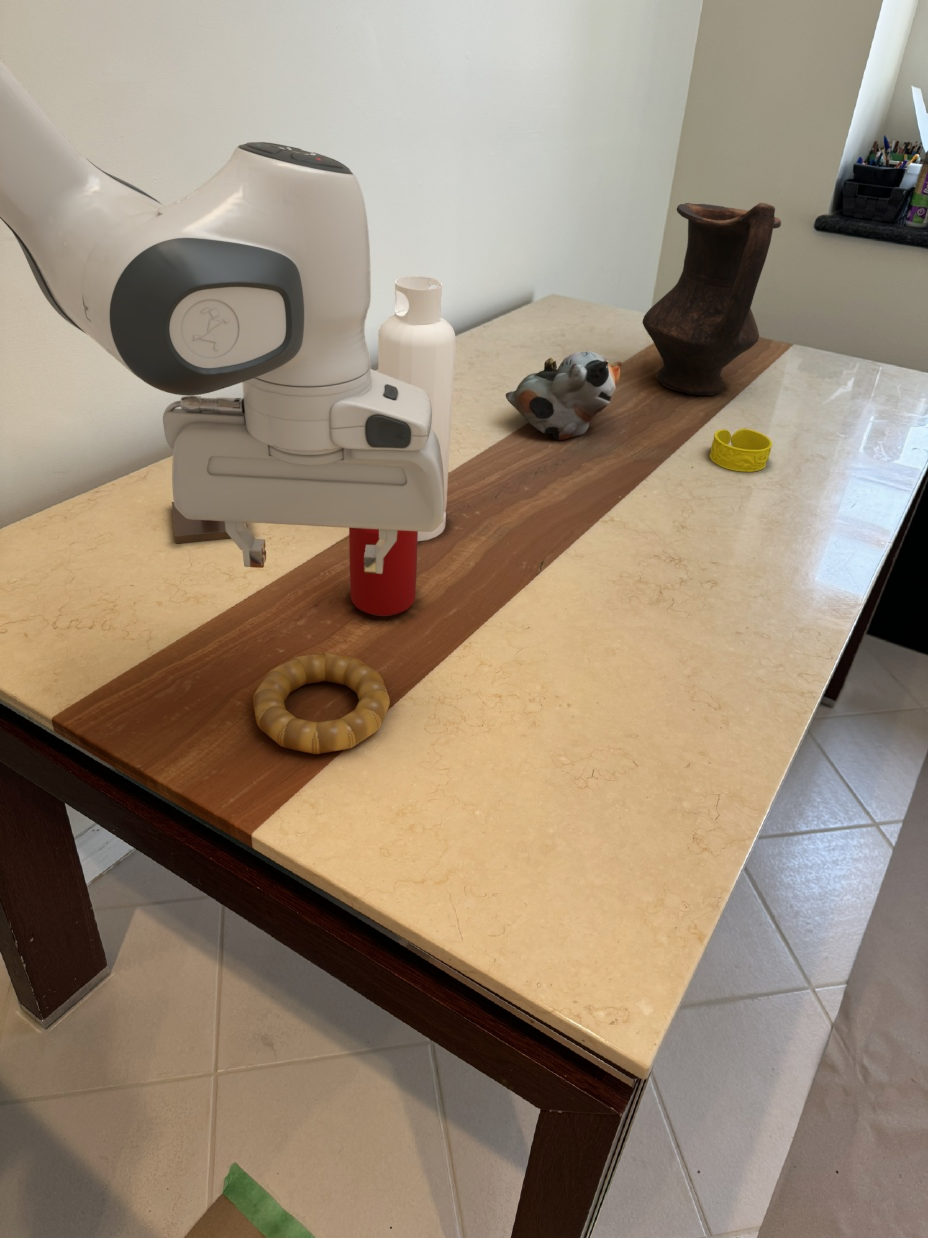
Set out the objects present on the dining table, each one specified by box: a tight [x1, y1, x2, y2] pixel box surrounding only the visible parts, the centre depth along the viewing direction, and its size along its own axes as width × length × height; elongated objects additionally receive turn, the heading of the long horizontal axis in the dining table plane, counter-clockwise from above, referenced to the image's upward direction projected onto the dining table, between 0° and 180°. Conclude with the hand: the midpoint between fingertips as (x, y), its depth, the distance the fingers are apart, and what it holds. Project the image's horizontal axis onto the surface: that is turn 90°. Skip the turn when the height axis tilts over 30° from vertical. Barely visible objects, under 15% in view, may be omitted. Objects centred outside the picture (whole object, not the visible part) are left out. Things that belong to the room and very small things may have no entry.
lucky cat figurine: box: [505, 350, 623, 441], centre depth 126 cm, size 15×12×14 cm
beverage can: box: [348, 528, 419, 617], centre depth 88 cm, size 7×7×12 cm
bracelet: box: [709, 428, 773, 473], centre depth 123 cm, size 7×8×3 cm
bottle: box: [377, 275, 457, 542], centre depth 96 cm, size 8×8×28 cm
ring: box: [252, 652, 391, 755], centre depth 77 cm, size 12×12×3 cm
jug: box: [642, 202, 782, 396], centre depth 137 cm, size 21×18×30 cm
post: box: [171, 501, 249, 544], centre depth 98 cm, size 8×8×12 cm
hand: (314, 566), depth 70 cm, fingers open, 8 cm apart
